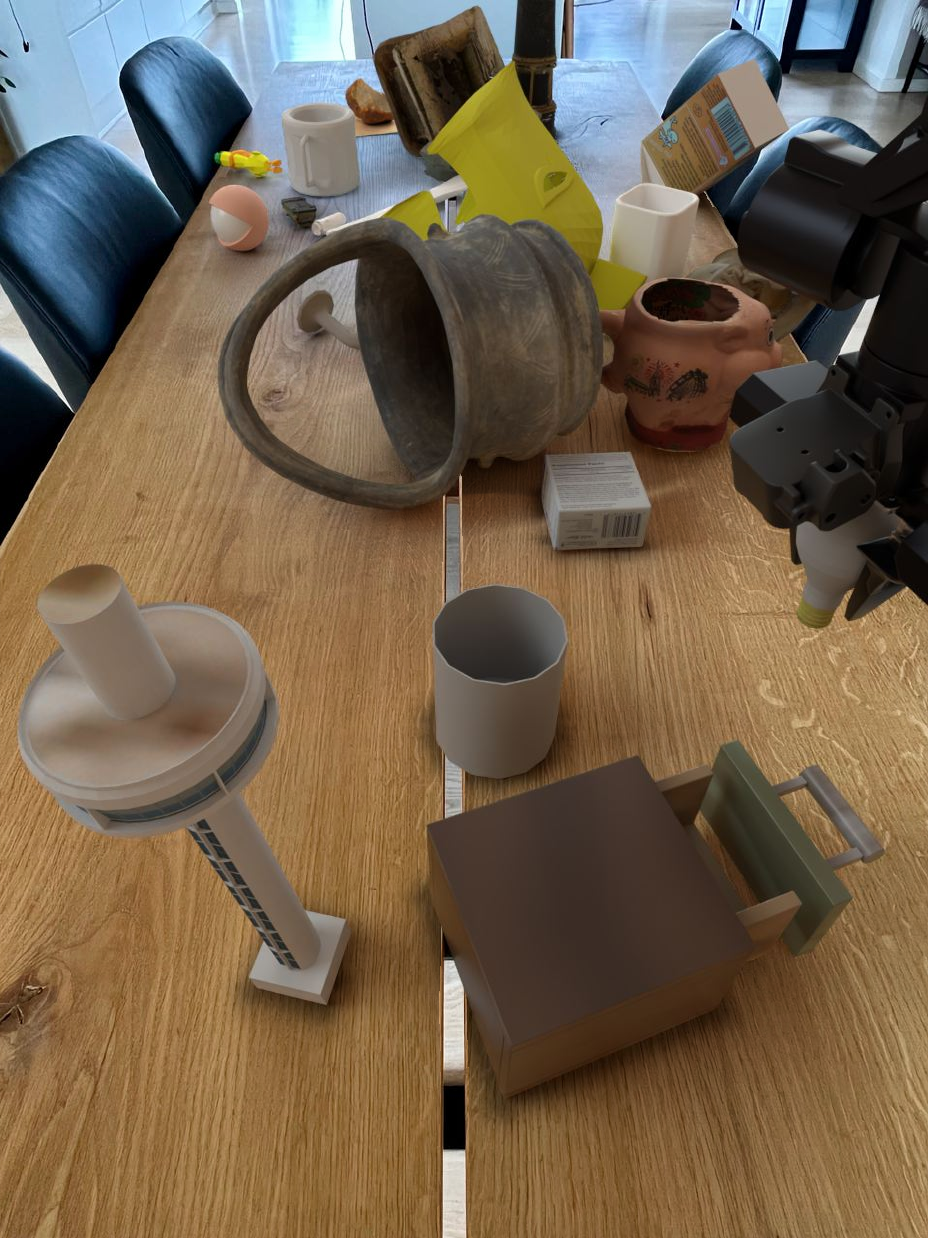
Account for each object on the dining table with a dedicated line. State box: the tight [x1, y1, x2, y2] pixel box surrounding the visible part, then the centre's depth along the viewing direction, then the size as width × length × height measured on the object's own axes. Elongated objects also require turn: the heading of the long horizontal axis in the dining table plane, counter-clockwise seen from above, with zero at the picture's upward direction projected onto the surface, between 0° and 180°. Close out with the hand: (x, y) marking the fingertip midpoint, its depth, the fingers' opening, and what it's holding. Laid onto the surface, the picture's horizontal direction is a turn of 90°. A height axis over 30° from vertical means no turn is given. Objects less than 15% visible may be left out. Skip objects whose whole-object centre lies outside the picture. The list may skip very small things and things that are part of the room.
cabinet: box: [425, 754, 756, 1100], centre depth 45 cm, size 13×12×9 cm
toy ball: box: [208, 184, 270, 252], centre depth 111 cm, size 8×8×8 cm
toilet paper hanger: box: [296, 289, 360, 350], centre depth 99 cm, size 25×8×5 cm, turn 136°
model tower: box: [17, 563, 352, 1006], centre depth 36 cm, size 8×8×30 cm
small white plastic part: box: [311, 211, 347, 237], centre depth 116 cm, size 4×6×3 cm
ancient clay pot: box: [216, 214, 604, 511], centre depth 72 cm, size 22×23×30 cm
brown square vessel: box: [371, 5, 506, 159], centre depth 138 cm, size 22×24×20 cm
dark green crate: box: [280, 196, 318, 228], centre depth 119 cm, size 4×8×2 cm, turn 25°
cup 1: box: [432, 583, 569, 780], centre depth 55 cm, size 8×8×10 cm
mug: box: [280, 102, 361, 197], centre depth 125 cm, size 14×11×10 cm
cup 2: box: [608, 183, 700, 285], centre depth 92 cm, size 7×7×15 cm
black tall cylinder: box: [511, 0, 558, 139], centre depth 136 cm, size 9×9×30 cm
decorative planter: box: [599, 277, 784, 453], centre depth 79 cm, size 20×12×14 cm, turn 87°
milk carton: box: [639, 58, 790, 196], centre depth 122 cm, size 11×11×19 cm
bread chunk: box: [344, 77, 398, 137], centre depth 149 cm, size 15×11×11 cm
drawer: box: [654, 739, 886, 963], centre depth 47 cm, size 16×10×7 cm, turn 111°
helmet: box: [380, 59, 648, 310], centre depth 90 cm, size 16×23×30 cm
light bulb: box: [796, 504, 900, 630], centre depth 49 cm, size 6×6×10 cm
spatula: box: [325, 175, 468, 236], centre depth 121 cm, size 28×4×2 cm, turn 137°
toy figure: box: [214, 149, 283, 179], centre depth 132 cm, size 7×4×12 cm
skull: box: [685, 247, 818, 343], centre depth 91 cm, size 12×18×12 cm
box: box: [540, 451, 653, 551], centre depth 72 cm, size 8×4×9 cm
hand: (825, 589), depth 50 cm, fingers closed on light bulb, 5 cm apart
